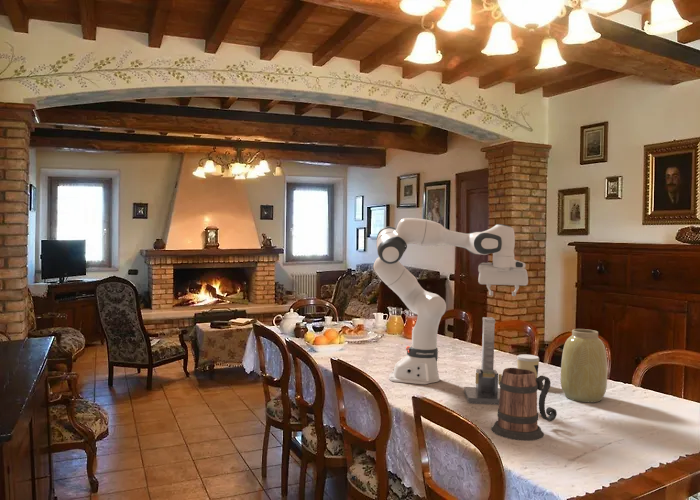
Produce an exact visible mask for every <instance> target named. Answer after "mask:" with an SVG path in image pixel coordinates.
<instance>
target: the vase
mask: <svg viewBox="0 0 700 500" xmlns="http://www.w3.org/2000/svg"><path fill="white" fill-rule="evenodd" d="M607 357H608V356H607V351H606V346H605V344H604V342H603V340H602V339H600V338H599V331H597V330H593V329H585V328H574V329H572V330H571V335H570V336H569V337H568V338H566V340H565V343H564V345H563V349H562V354H561V361H560V362H561V363H560V387H561V390H562V393H563V394H564V396H565V397H566V398H568V399H569V400H572V401H576V402H582V403H597V402H600V401H602V399H603V398H604V397H605V394H606V393H607V385H608V360H607V359H608V358H607Z"/></svg>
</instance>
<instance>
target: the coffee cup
mask: <svg viewBox="0 0 700 500" xmlns="http://www.w3.org/2000/svg"><path fill="white" fill-rule="evenodd" d="M516 362H517V363H516V364H517V367H516V368H518V369H525V370H530V371H533V372H534V373H535V377H536V379H537V378H538V377H539V375H538V374H539V366H540V363H539V362H540V357H539V356H537V355H534V354H524V353H523V354H518V355H517V357H516Z"/></svg>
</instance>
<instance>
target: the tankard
mask: <svg viewBox="0 0 700 500" xmlns="http://www.w3.org/2000/svg"><path fill="white" fill-rule="evenodd" d="M501 374H502V378H501V381H500V385H499V388H500V399H499V405H498V408H497V420H496V421H495V422H494V424H492V425H491V427H490V430H491V432H492V433H494V434H495V435H497V436H499V437H501V438H505V439H508V440H514V441H521V442H522V441H525V442H527V441H528V442H530V441H536V440H537V441H538V440H541V439H543V438H544V436H545V433H544V431H543V430H542V428H541V426H539V425H538V424H539V423H538V421H539V414H540V417H541V418H542V419H543V420H546V421H548V422H553V421H555V420H556V418H557V414H558V412H557V410H556V409H555V408H552V407H550V406H548V407H545V405H546V404H545V403H546V398H547V395H548V393H549V391H550V388H551V379H550V378H549V377H547V376H546V375H538V376H537V379H536V377H535V373H534V372H533V371H530V370H525V369H518V367H507V368H505V369H503V370H502V373H501ZM538 391H540V393H539V397H538ZM545 408H546V409H545ZM538 410H539V412H538Z"/></svg>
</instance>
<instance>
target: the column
mask: <svg viewBox="0 0 700 500" xmlns="http://www.w3.org/2000/svg"><path fill="white" fill-rule="evenodd" d="M495 323H496V319H495V318H494V317H489V316H486V317H485V316H483V317H482V334H481V335H482V339H481V343H482V344H481V345H482V346H481V369H482V371H481V373H482V375H481V376H482V377H483V373H489V374H493V370H494V365H495V362H494V361H495V360H494V359H495V358H494V357H495V326H496V325H495ZM483 378H493V377H483Z"/></svg>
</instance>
